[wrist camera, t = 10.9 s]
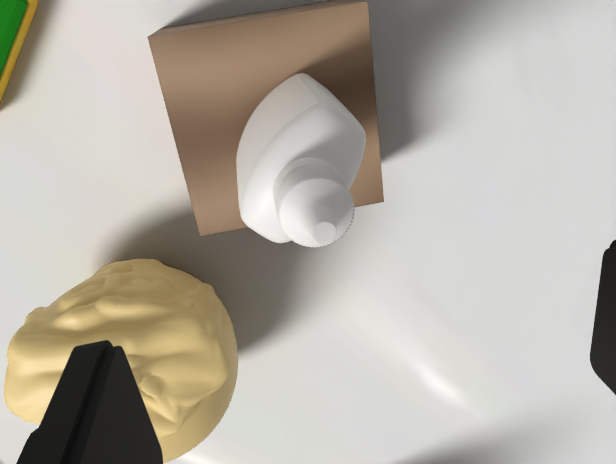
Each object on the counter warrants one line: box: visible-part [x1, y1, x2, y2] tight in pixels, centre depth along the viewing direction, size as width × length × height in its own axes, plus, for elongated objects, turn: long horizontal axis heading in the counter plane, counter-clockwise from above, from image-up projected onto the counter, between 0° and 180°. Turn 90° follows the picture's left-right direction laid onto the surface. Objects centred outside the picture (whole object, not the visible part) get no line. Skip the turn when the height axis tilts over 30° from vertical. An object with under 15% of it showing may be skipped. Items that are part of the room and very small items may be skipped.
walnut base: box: [148, 0, 384, 236], centre depth 28 cm, size 10×10×5 cm
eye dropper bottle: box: [236, 73, 366, 248], centre depth 20 cm, size 4×6×12 cm
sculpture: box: [4, 259, 238, 463], centre depth 30 cm, size 11×12×11 cm
